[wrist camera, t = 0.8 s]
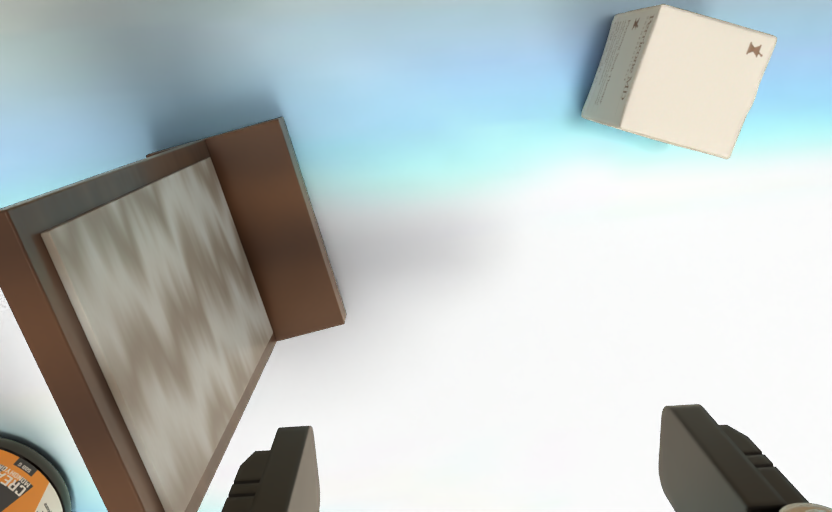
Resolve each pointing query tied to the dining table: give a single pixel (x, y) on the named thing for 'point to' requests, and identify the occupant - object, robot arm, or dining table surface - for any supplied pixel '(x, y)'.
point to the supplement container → (29, 481)
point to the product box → (678, 78)
